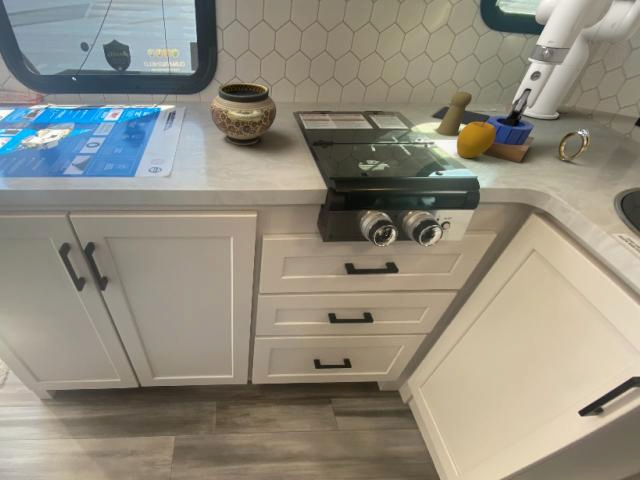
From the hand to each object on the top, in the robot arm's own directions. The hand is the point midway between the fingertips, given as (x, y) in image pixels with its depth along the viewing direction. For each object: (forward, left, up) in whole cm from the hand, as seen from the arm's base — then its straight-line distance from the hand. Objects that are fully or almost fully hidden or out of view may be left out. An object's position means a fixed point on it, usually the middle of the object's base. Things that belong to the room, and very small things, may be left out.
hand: (506, 131), depth 100 cm
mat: (-20, -16, -4) cm, 25 cm away
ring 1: (+4, 0, -1) cm, 4 cm away
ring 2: (0, +16, -4) cm, 16 cm away
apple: (+17, -5, -4) cm, 19 cm away
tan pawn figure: (0, -15, -4) cm, 15 cm away
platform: (+4, 0, -4) cm, 6 cm away
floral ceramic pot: (+50, -58, -4) cm, 77 cm away
